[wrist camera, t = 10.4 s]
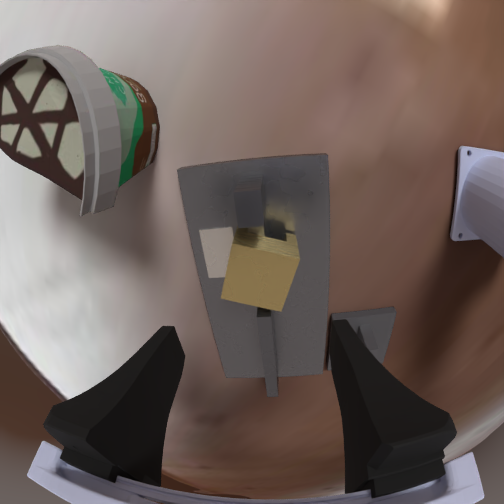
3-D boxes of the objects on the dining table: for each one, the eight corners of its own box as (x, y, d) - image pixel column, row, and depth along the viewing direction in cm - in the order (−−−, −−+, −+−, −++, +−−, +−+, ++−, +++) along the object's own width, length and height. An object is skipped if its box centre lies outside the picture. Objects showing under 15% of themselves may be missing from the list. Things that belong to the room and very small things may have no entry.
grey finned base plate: (393, 306, 23) (408, 336, 19) (380, 357, 26) (390, 386, 22) (331, 313, 24) (338, 346, 20) (326, 364, 27) (331, 395, 23)
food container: (210, 95, 16) (147, 75, 7) (169, 171, 19) (90, 222, 10) (82, 46, 14) (-11, 33, 5) (55, 113, 17) (-38, 132, 8)
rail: (325, 153, 18) (343, 165, 13) (321, 368, 27) (326, 406, 22) (180, 167, 19) (152, 184, 14) (227, 371, 28) (220, 410, 24)
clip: (238, 221, 19) (232, 243, 16) (295, 234, 19) (300, 259, 16) (228, 270, 21) (220, 298, 18) (280, 282, 21) (281, 311, 18)
